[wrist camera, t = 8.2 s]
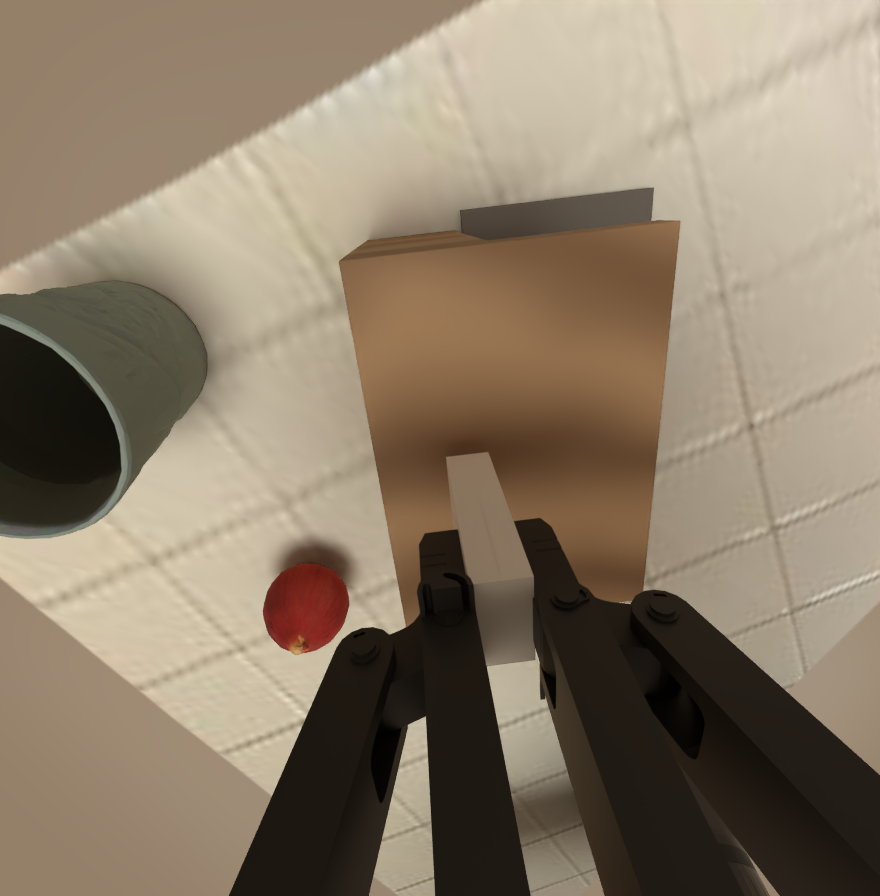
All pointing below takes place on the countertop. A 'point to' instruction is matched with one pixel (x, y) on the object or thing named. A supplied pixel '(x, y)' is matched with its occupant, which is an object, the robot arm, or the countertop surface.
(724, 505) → the countertop surface
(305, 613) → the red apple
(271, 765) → the countertop surface
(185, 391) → the grey-green tapered bin
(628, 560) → the brown flat-topped block
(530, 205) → the mat
